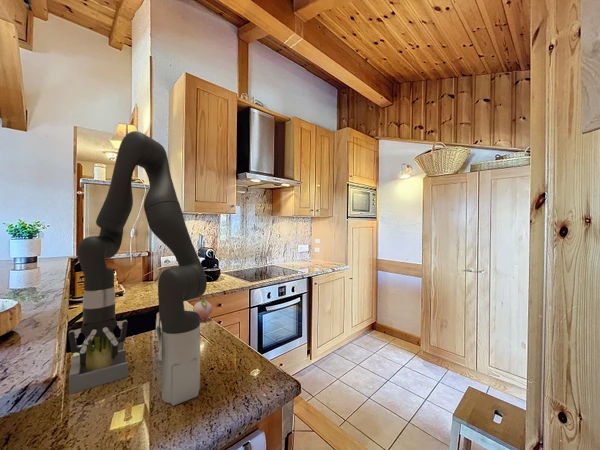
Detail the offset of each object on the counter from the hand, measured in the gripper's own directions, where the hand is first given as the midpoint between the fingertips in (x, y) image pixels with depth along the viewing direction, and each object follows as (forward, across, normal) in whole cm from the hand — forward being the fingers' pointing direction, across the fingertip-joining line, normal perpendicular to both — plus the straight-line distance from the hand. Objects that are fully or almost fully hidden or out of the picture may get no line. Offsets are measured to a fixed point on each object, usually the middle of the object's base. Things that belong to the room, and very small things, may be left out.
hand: (99, 360), depth 76 cm
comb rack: (+5, 0, +5) cm, 7 cm away
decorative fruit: (+5, +38, +28) cm, 48 cm away
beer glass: (+5, +18, 0) cm, 19 cm away
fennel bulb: (+4, 0, -1) cm, 4 cm away
